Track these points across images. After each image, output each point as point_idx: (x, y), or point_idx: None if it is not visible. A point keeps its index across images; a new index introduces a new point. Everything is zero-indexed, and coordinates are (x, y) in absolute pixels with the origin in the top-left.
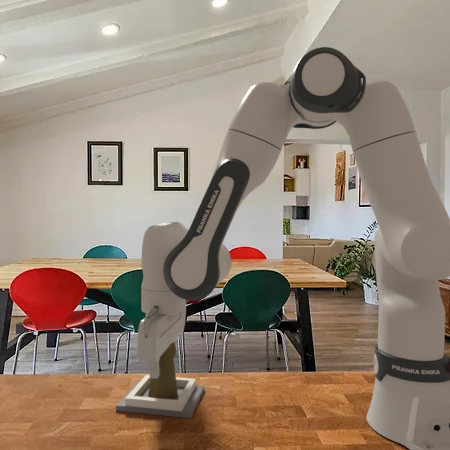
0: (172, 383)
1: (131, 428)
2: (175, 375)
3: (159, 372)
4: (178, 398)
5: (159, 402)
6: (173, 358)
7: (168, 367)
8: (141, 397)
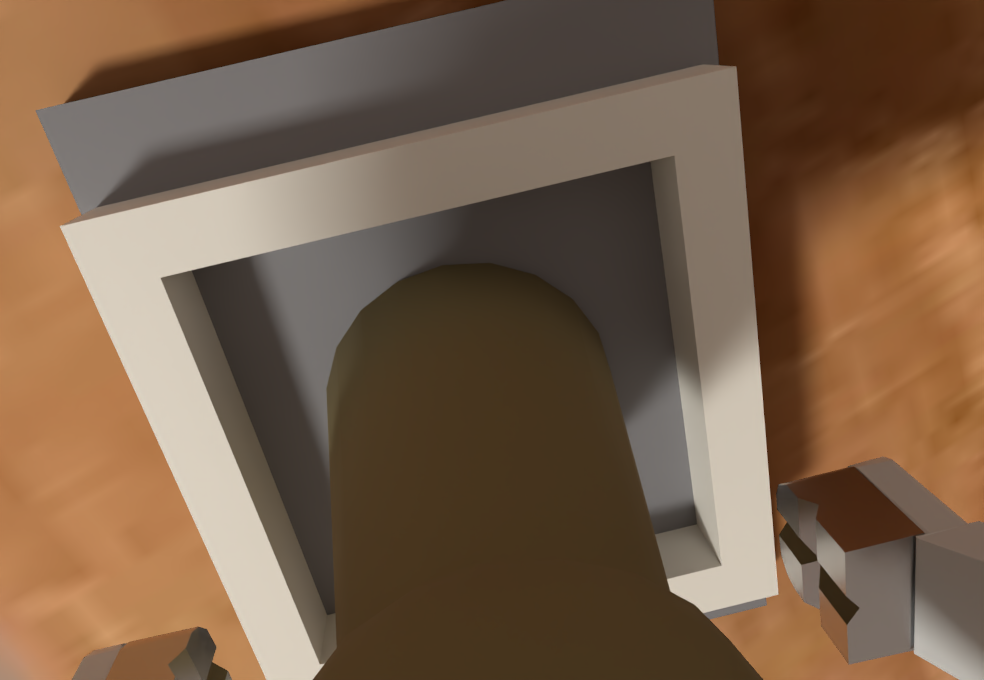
0: (521, 344)
1: (949, 346)
2: (412, 390)
3: (865, 497)
4: (635, 164)
5: (751, 307)
6: (140, 639)
7: (596, 498)
8: (730, 495)
